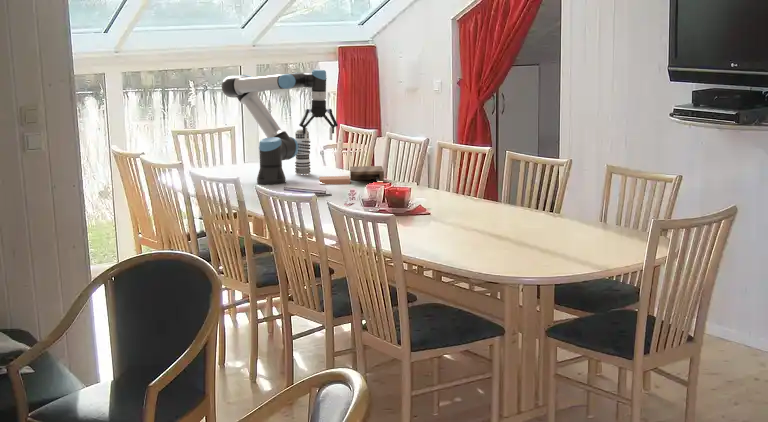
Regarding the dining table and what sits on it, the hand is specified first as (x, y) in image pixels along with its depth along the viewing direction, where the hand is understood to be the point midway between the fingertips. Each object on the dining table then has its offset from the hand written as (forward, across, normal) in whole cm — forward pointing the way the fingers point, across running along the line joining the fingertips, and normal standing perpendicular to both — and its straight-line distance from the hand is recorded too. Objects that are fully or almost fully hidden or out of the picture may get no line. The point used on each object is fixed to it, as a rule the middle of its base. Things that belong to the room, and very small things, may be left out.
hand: (318, 139), depth 504 cm
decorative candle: (+23, -1, +29) cm, 37 cm away
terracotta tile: (+22, +8, -6) cm, 24 cm away
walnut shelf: (+21, +24, -11) cm, 34 cm away
